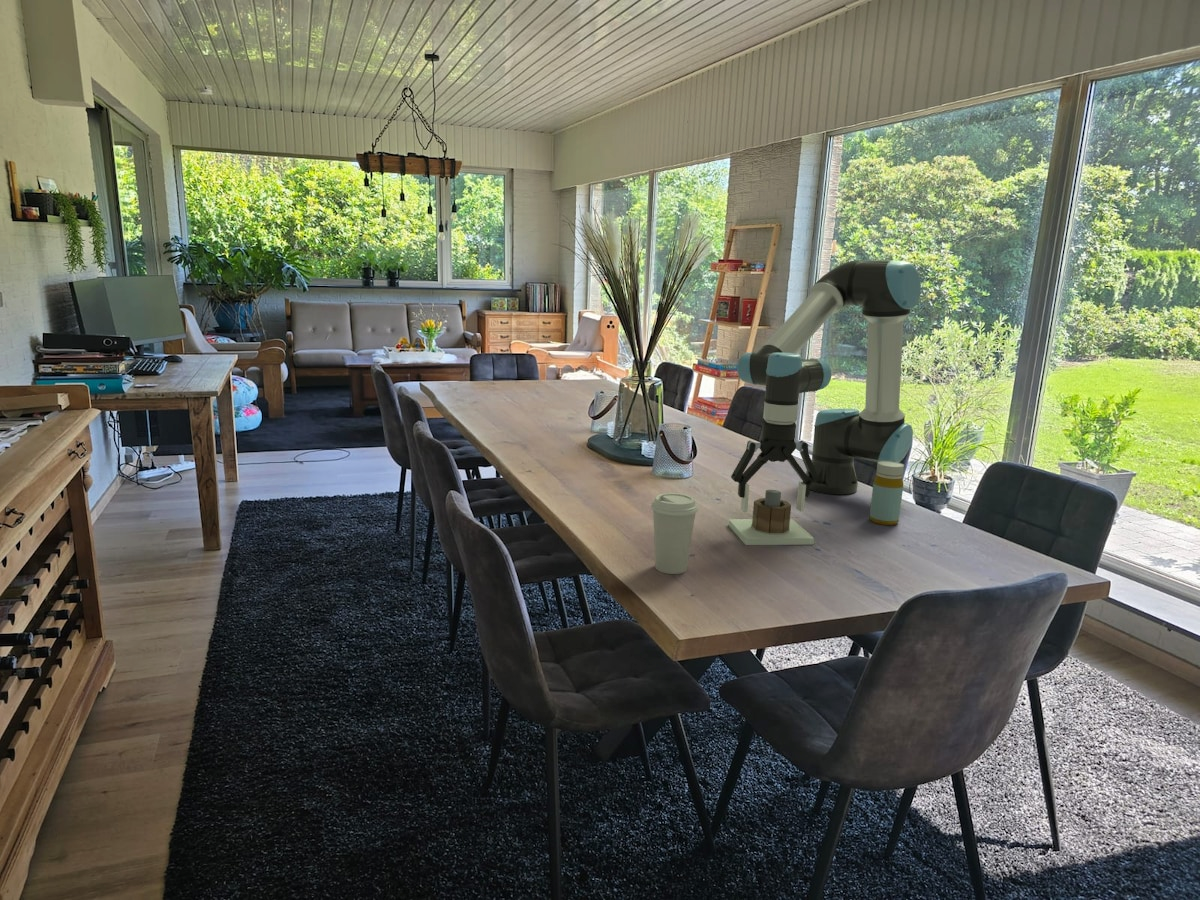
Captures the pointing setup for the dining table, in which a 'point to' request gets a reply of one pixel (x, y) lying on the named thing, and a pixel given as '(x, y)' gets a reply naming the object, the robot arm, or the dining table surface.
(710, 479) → the dining table surface
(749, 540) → the post stand
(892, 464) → the bottle
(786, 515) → the collar
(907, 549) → the dining table surface
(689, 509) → the coffee cup
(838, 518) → the dining table surface
